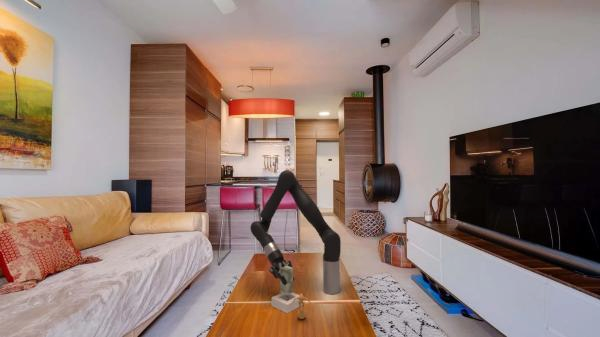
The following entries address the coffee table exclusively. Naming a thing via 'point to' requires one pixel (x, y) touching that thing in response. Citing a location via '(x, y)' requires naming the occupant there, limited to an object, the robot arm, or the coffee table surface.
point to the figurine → (301, 312)
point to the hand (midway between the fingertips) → (289, 282)
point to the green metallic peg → (288, 276)
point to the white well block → (285, 302)
